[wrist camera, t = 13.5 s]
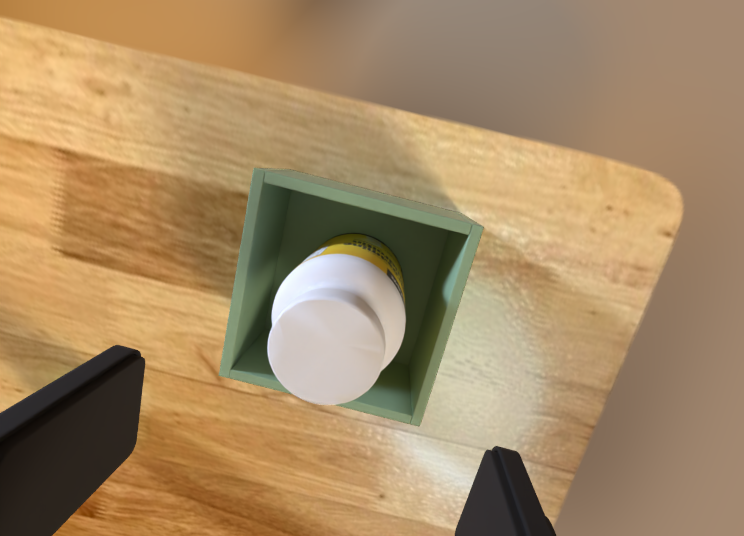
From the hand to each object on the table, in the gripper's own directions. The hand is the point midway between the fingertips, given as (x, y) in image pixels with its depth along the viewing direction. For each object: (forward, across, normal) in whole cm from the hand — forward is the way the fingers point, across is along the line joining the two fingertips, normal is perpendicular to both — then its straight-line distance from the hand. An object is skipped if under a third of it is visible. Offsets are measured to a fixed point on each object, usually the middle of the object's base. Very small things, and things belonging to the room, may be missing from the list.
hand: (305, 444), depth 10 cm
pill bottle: (+17, +1, 0) cm, 17 cm away
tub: (+17, +1, 0) cm, 17 cm away
